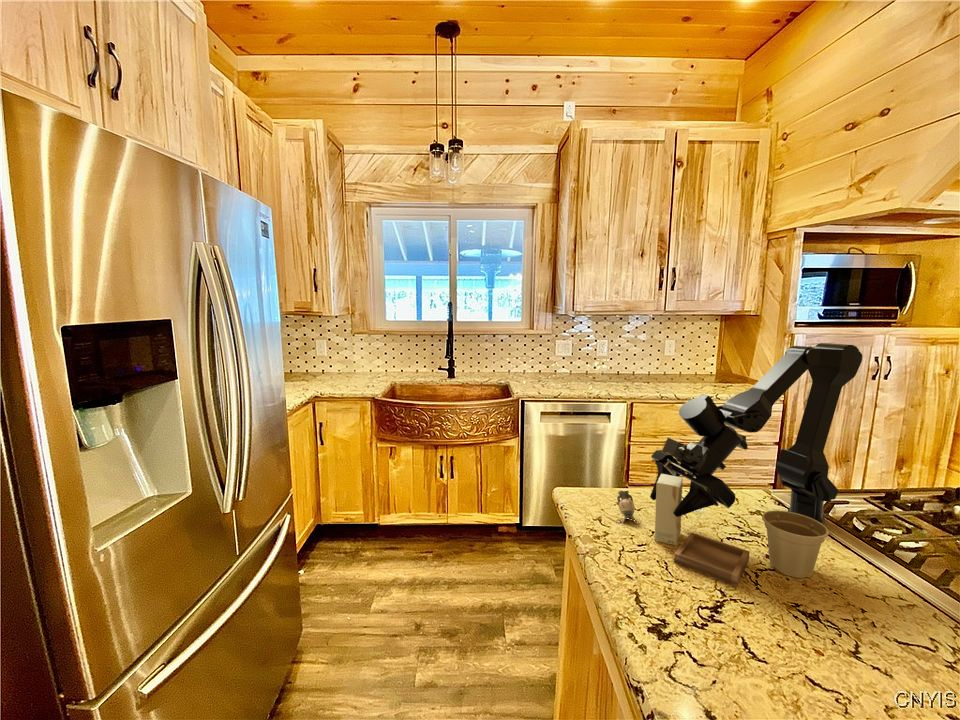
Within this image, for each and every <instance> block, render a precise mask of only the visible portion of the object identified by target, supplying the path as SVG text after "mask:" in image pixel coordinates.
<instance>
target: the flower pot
mask: <svg viewBox="0 0 960 720" xmlns="http://www.w3.org/2000/svg"><path fill="white" fill-rule="evenodd" d="M761 518H762V521H763V523H764V527H765V529H766V537H767V545H768V556H769V557H768V560H769V564H770V565H771V566H772V568H775V569H777V570H778V571H779V572H780V573H781V574H784V575H786V576H790V577H791V578H792V577H793V578H798V579H804V578H807V577H808V578H811V577H812V576H813V574H814V569H815V566H816V563H817V559H818V557H819V553H820V550H821V547H822V544H823V543H824V542H825V539H826V538H827V537H828V536H829V533H830V531H829V529H828V528H827V526H826V525H825V524H824V525H823V524H822V523H820V522H818V521H816V520H814V519H812V518H810V517H807V516H804V515H801V514H797V513H793V512H788V510H787V511H785V510H779V509H778V510H777V509H776V510H775V509H774V510H768V511H764V512H763V513H762V515H761Z"/></svg>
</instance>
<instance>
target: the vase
mask: <svg viewBox="0 0 960 720" xmlns="http://www.w3.org/2000/svg"><path fill="white" fill-rule="evenodd" d="M616 499H617V500H616V501H617V505H618V510H619V512H620V513H621V514H622V516H624V518H619V519H615V522H616V521H617V522H619V521H621V520H622V521H621V522H620V523H622V522H625V520H624V519H627V518H629V519H632V520H631V521H633V520H635V521H634V524H637V522H639V524H640V523H641V522H640V521H639V520H638V518H636V517H635V516H633V515H634V514H635V509H636V508H635V504H634V498H633V496H632V495H631V494H629V490H624V491H623V490H619V491H618V496H617V498H616ZM613 515H614V514H613ZM637 520H638V521H637Z"/></svg>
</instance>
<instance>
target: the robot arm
mask: <svg viewBox="0 0 960 720" xmlns="http://www.w3.org/2000/svg"><path fill="white" fill-rule="evenodd" d="M862 362H863V354H862V352H861V351H860V350H859V348H858V347H857V346H856V345H854V344H844V343H843V344H842V343H841V344H840V343H826V342H821V343H818V344H816V345H815V346H805V345H793V346H789V347H788V348H787V349H786V350H785V352H784V354H783V356H782V357H781V358H780V359H778V361H777V362H776V363H775V364H774V365H773V366H772V367H771V368H770V369H769V370H768V371H767V372H766V373H765V374H764V375H763V376H762V377H761V378H760V379H759V380H758V381H757V382H756V383H755V384H754V385H753V386H752V387H751V388H749V389H748V390H745V391H743V392H740V393H738V394H735V395H734V396H733V397H731V398H729V399H728V400H727V401H725V402H724V403H723V405H717V404H716V403H715V402H714V399H713V398H712V397H711V396H710V395H707V394H704V393H703V394H702V393H701V394H700V395H699V396H698V397H695V398H692V399H689V400H687V402H683V404H682V405H681V407H680V408H679V410H678V415H679V417H680V418H681V419H682V420H683V421H684V423H686V424H687V425H688V427H689V428H690V429H691V430H692V431H693V432H694V433H695V434H696V436H699V437H702V438H701V439H700V440H699V441H698V442H695V441H691V442H689V443H688V444H684V443H682V442H679V441H677V440H675V439H673V438H671V437H667V438H666V441H665V444H664V446H663V447H662V449H657V450H655V451H654V453H652V454H651V455H650V458H651V459H652V460H653V461H654V464H655V466H656V467H657V475H656V479H655V482H654V485H653V487H652V490H651V493H650V495H649V498H650V499H651V500H653V501H656V486H657V481H658V479H659V477H660V475H661V474H666V475H671V476H677V477H682V478H685V479H687V480H689V481H690V483H689V491H688V492H687V493H686V495H685V496H684V497H683V498H682V501H681V502H680V504H679V505H678V506H677V508H676V509H675V511H674V512H673V514H674V515H675V516H676V517H679V516H681V517H682V516H684V515H687V514H690V513H693V512H696V511H699V510H702V509H705V508H709V507H711V506H715V507H718V506H719V505H722V506H724V507H726V509H730V508H731V507H733V504H734V503H735V502H736V493H734V491H733V490H732V489H731V488H730V487H729V486H728V485H727V484H726V482H724V481H723V479H721V478H719V477H717V476H715V475H714V473H715V472H716V471H717V470H718V469H719V470H721V471H724V470H725V468H727V466H726V465H725V464H724V462H725V461H726V459H728V457H730V455H731V454H733V453H732V452H733V451H735V449H736V448H737V447H738V448H739V449H742V450H748V443H747V436H746V435H743V434H741V433H738V432H737V429H738V430H740V431H744V432H746V433H754V434H755V433H759V432H760V431H761V430H762V429H763V428H764V427H765V425H766V424H767V422H768V421H769V420H770V418H771V417H772V414H773V406H774V405H775V403H776V402H777V401H778V400H779V399H780V398H781V397H782V396H783V395H784V394H785V393H786V392H787V391H788V390H789V389H790V388H791V387H792V386H793V385H794V384H795V383H796V382H797V380H798V379H800V378H801V377H802V376H803V375H804V374H805V373H806V372H807V371H808V374H809V376H810V378H811V385H810V390H809V394H808V396H807V400H806V404H805V407H804V410H803V414H802V418H801V421H800V424H799V428H798V431H797V435H796V439H795V442H794V444H792V445H791V446H790V447H789V448H788V449H785V448H781V449H780V451H779V456H778V460H777V461H776V464H775V466H777V467H776V474H778V476H779V480H780V484H781V486H782V487H786V488H789V489H790V501H789V502H790V503H789V507H788V510H787V511H788V512H793V513H797V514H801V515H804V516H807V517H810V518H812V519H814V520H816V521H818V522H820V523H822V524H823V525H824V526H825V521H826V515H824V505H825V504H824V502H826V503H827V502H829V503H830V502H832V500H833V501H834V500H835V499H836V498H837V496H838V493H839V489H838V488H837V487H836V486H835V484H834V483H833V481H831V480H830V479H829V477H828V476H829V469H830V466H829V463H828V460H827V457H826V455H825V452H824V451H825V448H826V444H827V439H828V436H829V433H830V430H831V427H832V423H833V420H834V416H835V414H836V413H835V412H836V410H837V409H836V408H837V406H838V404H839V399H840V395H841V392H842V388H843V387H844V386H845V385H846V384H848V383H849V382H850V381H851V380H852V379H854V378H855V377H856V375H857V374H858V371H859V369H860V366H861V364H862Z"/></svg>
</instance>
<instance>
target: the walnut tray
mask: <svg viewBox="0 0 960 720" xmlns="http://www.w3.org/2000/svg"><path fill="white" fill-rule="evenodd" d="M673 558H674V559H673V564H676V565H679V566H682V567H685V568H687V569H690V570H693V571H695V572H697V573H699V574H700V573H701V574H703V575H706V576H709V577H710V578H713V579H716V580H719V581H721V582H724V583H727V584H728V585H731V586H734V587H735V588H736V587H737V586H738V584H739V582H740V580H741V578H742V576H743V574H744V572H745V570H746V567H747V565H748V563H749V562H750V550H747V549H743V548H741V547H738V546H734V545H731V544H728V543H726V542H722V541H719V540H716V539H712V538H710V537H707V536H703V535H700V534H698V533H694V532H690V533H689V534H688V535H687V537H686V539H684V541H683V542H682V543H681V545H680V546H678V548H677V550H676V551H675V552H674V557H673Z"/></svg>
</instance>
